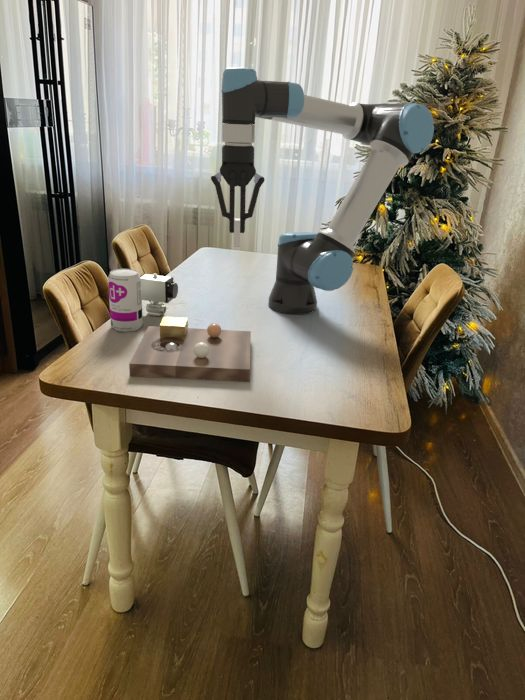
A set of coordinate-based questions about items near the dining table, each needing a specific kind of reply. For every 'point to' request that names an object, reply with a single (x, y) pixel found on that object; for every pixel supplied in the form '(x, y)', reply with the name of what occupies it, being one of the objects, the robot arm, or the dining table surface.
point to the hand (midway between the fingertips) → (236, 245)
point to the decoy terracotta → (214, 330)
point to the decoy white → (201, 350)
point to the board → (193, 356)
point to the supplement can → (125, 300)
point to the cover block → (174, 327)
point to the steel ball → (170, 346)
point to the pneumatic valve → (157, 292)
